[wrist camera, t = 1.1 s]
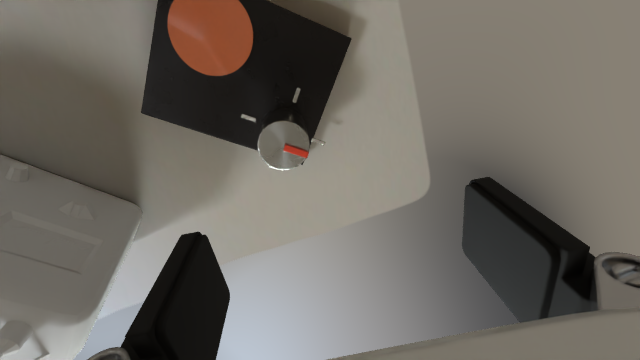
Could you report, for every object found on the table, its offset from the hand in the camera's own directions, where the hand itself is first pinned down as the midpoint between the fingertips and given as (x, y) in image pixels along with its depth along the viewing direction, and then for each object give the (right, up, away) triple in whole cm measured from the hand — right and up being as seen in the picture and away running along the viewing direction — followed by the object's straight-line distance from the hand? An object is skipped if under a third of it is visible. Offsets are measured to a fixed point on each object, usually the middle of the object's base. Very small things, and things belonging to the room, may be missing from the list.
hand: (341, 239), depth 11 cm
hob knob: (-4, +7, +19) cm, 21 cm away
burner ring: (-10, +15, +15) cm, 23 cm away
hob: (-8, +13, +19) cm, 24 cm away
